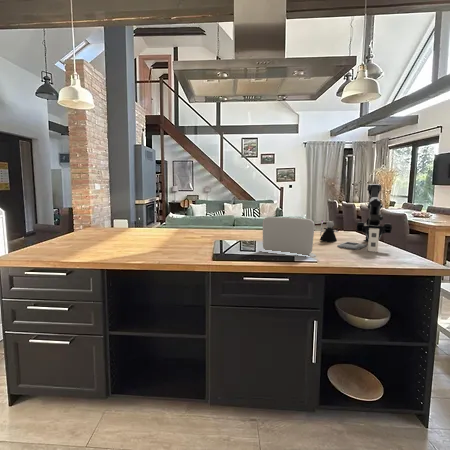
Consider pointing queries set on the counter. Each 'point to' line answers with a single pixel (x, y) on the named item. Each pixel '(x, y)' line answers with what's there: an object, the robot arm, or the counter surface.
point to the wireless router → (288, 235)
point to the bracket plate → (352, 245)
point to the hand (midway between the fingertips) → (373, 238)
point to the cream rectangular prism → (373, 239)
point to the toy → (328, 232)
